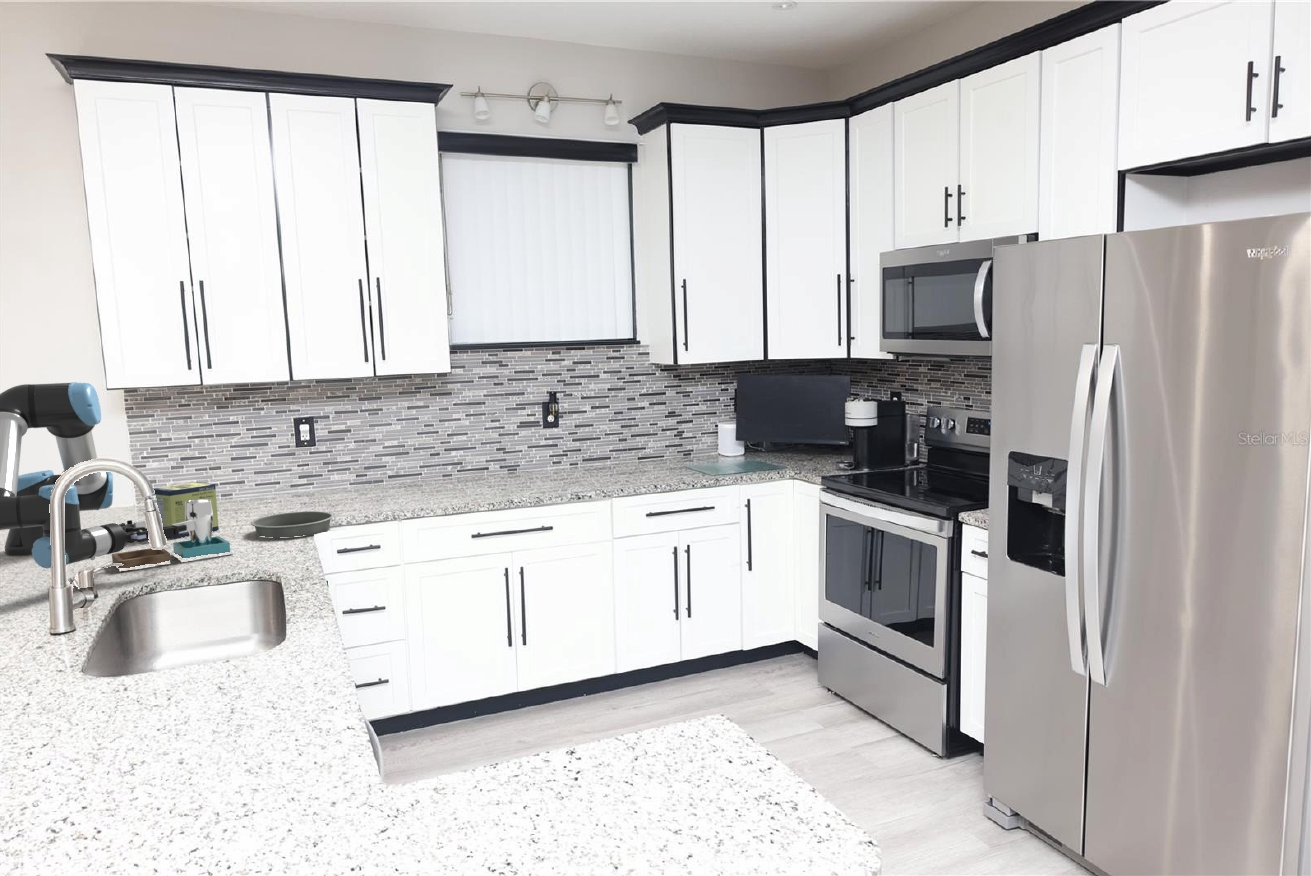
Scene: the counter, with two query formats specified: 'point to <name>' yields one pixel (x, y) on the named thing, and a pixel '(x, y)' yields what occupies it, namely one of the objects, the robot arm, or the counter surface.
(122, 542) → the robot arm
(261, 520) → the cake pan
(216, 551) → the teal shallow tray
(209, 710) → the counter surface
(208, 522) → the beer glass
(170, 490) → the protein box
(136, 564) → the brown square tray
